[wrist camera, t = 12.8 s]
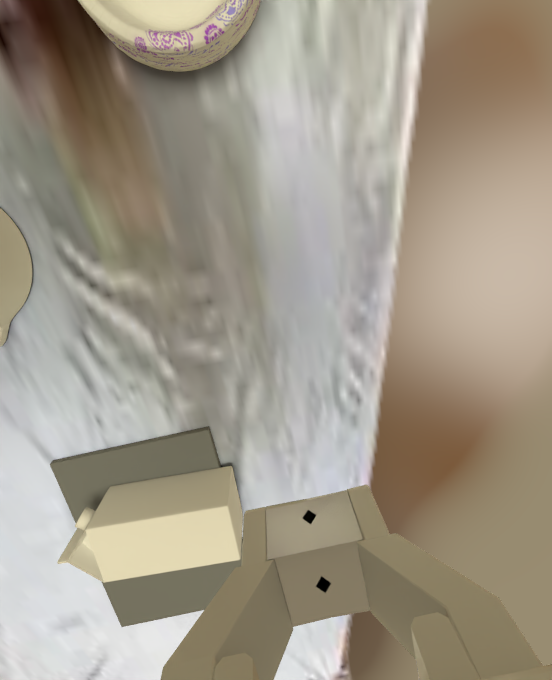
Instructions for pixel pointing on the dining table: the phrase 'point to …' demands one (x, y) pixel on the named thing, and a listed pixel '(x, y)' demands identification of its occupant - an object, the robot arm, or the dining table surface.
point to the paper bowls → (173, 29)
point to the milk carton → (159, 526)
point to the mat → (138, 465)
